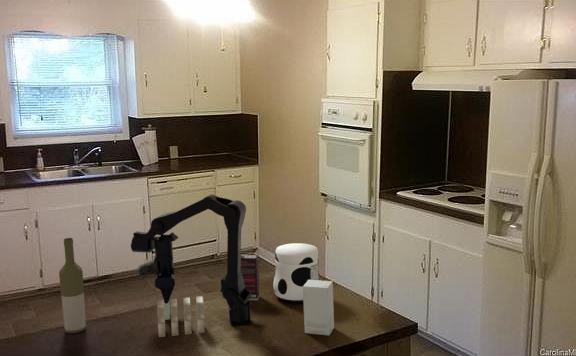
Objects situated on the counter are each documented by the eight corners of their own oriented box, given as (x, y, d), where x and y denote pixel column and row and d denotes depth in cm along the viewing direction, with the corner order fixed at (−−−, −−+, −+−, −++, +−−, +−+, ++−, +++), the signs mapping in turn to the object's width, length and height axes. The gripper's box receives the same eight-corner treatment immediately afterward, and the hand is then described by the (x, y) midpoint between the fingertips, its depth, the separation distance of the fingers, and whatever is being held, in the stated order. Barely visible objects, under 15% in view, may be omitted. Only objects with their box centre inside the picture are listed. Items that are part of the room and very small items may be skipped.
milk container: (271, 289, 211) (270, 243, 208) (316, 287, 213) (316, 241, 210) (275, 307, 194) (274, 257, 191) (324, 304, 196) (324, 254, 193)
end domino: (203, 325, 179) (202, 296, 178) (204, 332, 175) (203, 302, 173) (197, 326, 179) (195, 296, 178) (198, 333, 174) (196, 302, 173)
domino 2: (170, 313, 190) (168, 285, 188) (170, 319, 185) (168, 290, 183) (164, 314, 189) (162, 285, 188) (163, 320, 185) (162, 291, 183)
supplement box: (259, 296, 205) (258, 254, 202) (257, 300, 200) (256, 258, 197) (236, 295, 206) (235, 253, 203) (234, 300, 201) (232, 257, 198)
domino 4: (190, 327, 179) (189, 297, 177) (191, 333, 174) (190, 303, 172) (184, 327, 178) (183, 298, 177) (185, 334, 173) (183, 303, 172)
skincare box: (334, 328, 176) (334, 280, 174) (329, 337, 170) (329, 288, 168) (309, 324, 179) (308, 278, 177) (302, 333, 173) (302, 285, 170)
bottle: (76, 336, 173) (69, 242, 168) (58, 333, 176) (50, 240, 171) (91, 327, 180) (85, 236, 175) (74, 324, 182) (67, 235, 177)
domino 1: (165, 329, 177) (163, 299, 175) (165, 336, 172) (163, 305, 171) (158, 330, 177) (157, 300, 175) (158, 337, 172) (157, 306, 170)
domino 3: (178, 328, 178) (176, 298, 176) (178, 335, 173) (177, 304, 171) (171, 329, 177) (170, 299, 176) (171, 335, 173) (170, 305, 171)
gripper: (140, 247, 191) (142, 290, 194) (137, 263, 173) (140, 311, 176) (173, 244, 193) (175, 287, 196) (173, 260, 175) (176, 307, 178)
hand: (166, 298), depth 186 cm, fingers open, 9 cm apart
